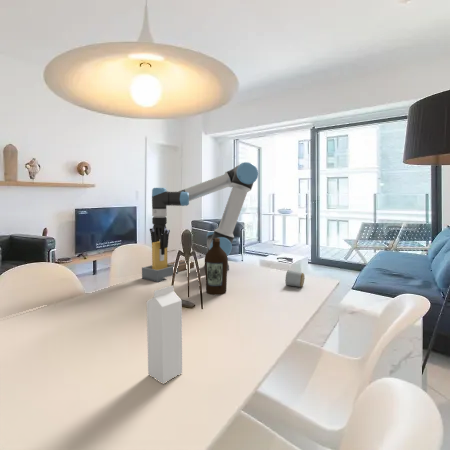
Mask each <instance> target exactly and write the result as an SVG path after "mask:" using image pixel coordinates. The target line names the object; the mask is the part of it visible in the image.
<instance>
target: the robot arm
mask: <svg viewBox="0 0 450 450" xmlns="http://www.w3.org/2000/svg"><path fill="white" fill-rule="evenodd" d="M258 177H259V170H258V168H257V165H255V164H254V163H251V162H248V161H247V162H246V161H245V162H241V163H240V164H238V165H236V166H235V167H234V168H232V169H230V170H227V171H225V172H224V174H222V175H219V176H216V177H214V178H211V179H208V180H205V181H203V182H200V183H198V184H195V185H191V186H189V187H187V188H184V189H181V190H179V191H168V190H167V188H166V187H153V188H152V189H151V208H152V209H151V213H152V215H151V216H152V218H151V220H152V225H153V226H152V228H149V232H150V240H151V241H150V242H151V244H152V243H153V242H159V241H160V249H159V258H160V261H163V260H164V255H165V248H167V249H168V247H169V238H170V232H171V231H170V229H168V228H167V226H166V225H167V223H168V221H167V213H168V212H167V207H168V206H169V207H170V206H171V207H172V206H173V207H178V206H179V207H180V206H181V207H187V206H189V205H190V202H191V201H193V200H196V199H197V200H198V199H199V198H202V197H204V196H207V195H210V194H213V193H216V192H218V191H220V190H223V189H226V188H231V191H230V194H229V196H228V199H227V202H226V205H225V206H224V211H223V213H222V216H221V219H220V222H219V224H218V227H217V228H216V229H214V230H213V231H208V232H207V233H206V253H207V252H208V251H209V250H210V249H211V248H212V246H213V238H220V247H221V248H222V249H223V251H224V252H225V253H226V254H227V257H228V256H229V255H230V254H231V252H232V250H233V249H232V248H233V245H232V244H233V243H234V242H233V241H234V239H235V236H234V231H235V228H236V225H237V222H238V219H239V216H240V213H241V211H242V208H243V205H244V203H245V199H246V196H247V194H248V193H249V192H251V191H252V188H253V186H254V184H255V182H256V181H257V179H258ZM203 268H204V269H205V264H204V265H203ZM229 270H230V265H229V264H228V266H227V272H228V271H229Z"/></svg>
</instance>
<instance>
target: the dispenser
mask: <svg viewBox="0 0 450 450" xmlns="http://www.w3.org/2000/svg"><path fill="white" fill-rule="evenodd" d="M179 260H180V261H179ZM179 260H178V261H179V266H178V273H182V272H184V271H187V269H186V263H185V261H186V260H185V259H179ZM174 263H175V261H173V262H172V261H171V262H167V264H173V265H174ZM191 269H195V262H194V261H191V263H190V269H189V270H191Z"/></svg>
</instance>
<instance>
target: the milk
mask: <svg viewBox="0 0 450 450" xmlns="http://www.w3.org/2000/svg"><path fill="white" fill-rule="evenodd" d="M174 288H175V286H174V285H168V286H166V287H161V288H160V289H156V290H154V291H153V297H152V298H150V299H148V300H147V301H146V327H147V329H146V331H147V333H146V334H147V339H146V340H147V373H148V374H149V375H151V376H152V377H154V378H156V379H157V380H159V381H160V382H162V383H165V382H166V381H169V380H170V379H172V378H173V377H175V376H177V375H179V374H181V373H182V374H183V331H182V330H183V329H182V328H183V324H182V323H183V321H182V319H183V317H182V316H183V314H182V313H183V311H182V310H183V308H182V305H183V304H182V302H183V301H182V299H181V298H180V296H178V295H177V293H176V292H175V289H174ZM182 374H181V375H182ZM149 375H148V376H149ZM179 376H180V375H179ZM152 377H151V378H152ZM177 377H178V376H177ZM157 380H156V381H157ZM172 380H173V379H172ZM160 382H159V383H160ZM169 382H170V381H169Z"/></svg>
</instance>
